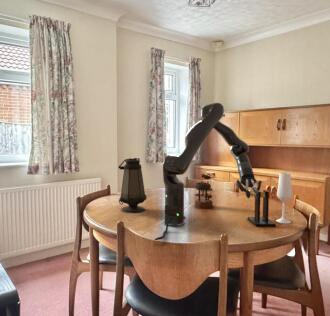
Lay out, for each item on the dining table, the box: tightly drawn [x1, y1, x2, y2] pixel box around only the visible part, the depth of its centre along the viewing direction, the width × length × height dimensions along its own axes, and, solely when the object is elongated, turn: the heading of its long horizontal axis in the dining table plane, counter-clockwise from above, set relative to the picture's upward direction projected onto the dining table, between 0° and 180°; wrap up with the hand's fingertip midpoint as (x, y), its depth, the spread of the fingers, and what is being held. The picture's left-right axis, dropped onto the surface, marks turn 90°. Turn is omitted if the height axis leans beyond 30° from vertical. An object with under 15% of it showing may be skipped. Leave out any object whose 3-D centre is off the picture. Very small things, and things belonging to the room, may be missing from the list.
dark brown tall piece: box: [193, 173, 214, 210], centre depth 176 cm, size 15×11×20 cm
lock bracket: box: [247, 189, 277, 228], centre depth 143 cm, size 12×9×16 cm
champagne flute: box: [275, 172, 293, 224], centre depth 145 cm, size 7×7×24 cm
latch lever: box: [248, 189, 265, 198], centre depth 150 cm, size 17×3×3 cm, turn 179°
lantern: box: [118, 157, 147, 214], centre depth 170 cm, size 18×15×30 cm
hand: (252, 197), depth 155 cm, fingers closed on latch lever, 3 cm apart
